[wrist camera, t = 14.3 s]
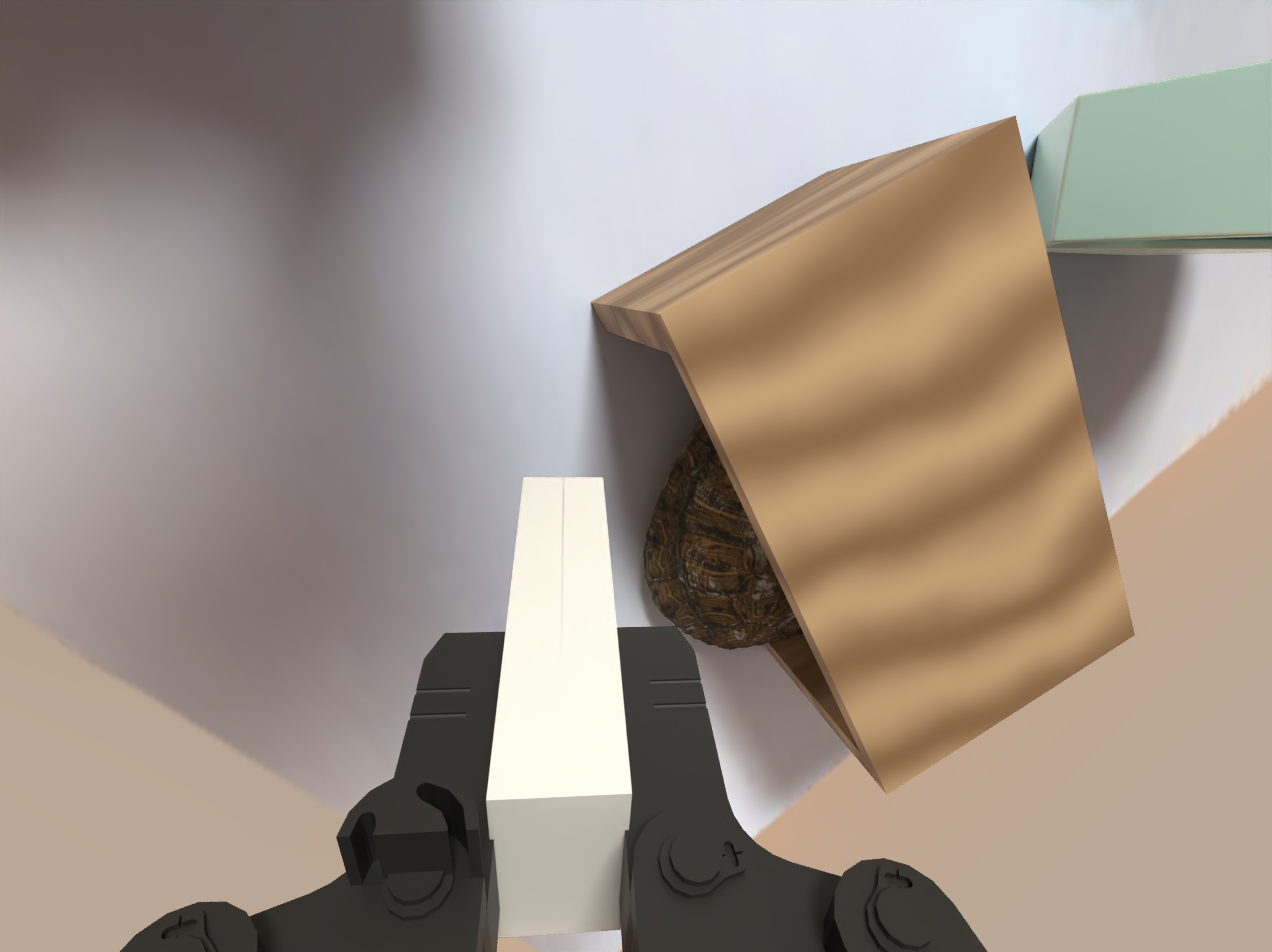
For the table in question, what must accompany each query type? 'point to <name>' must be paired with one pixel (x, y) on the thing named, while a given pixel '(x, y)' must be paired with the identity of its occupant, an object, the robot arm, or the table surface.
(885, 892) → the robot arm
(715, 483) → the turtle shell
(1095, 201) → the planter
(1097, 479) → the walnut shelf
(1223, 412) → the table surface
